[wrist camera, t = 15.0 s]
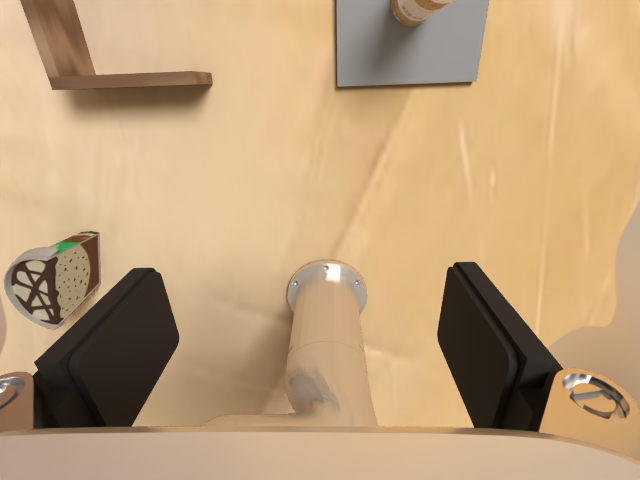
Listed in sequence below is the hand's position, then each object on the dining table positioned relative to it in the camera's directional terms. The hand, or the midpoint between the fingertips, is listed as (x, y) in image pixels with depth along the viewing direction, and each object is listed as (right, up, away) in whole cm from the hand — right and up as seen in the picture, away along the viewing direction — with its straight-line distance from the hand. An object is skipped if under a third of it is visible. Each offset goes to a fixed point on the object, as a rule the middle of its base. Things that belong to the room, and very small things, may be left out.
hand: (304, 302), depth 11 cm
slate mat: (+10, +28, +24) cm, 38 cm away
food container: (-37, 0, +39) cm, 54 cm away
